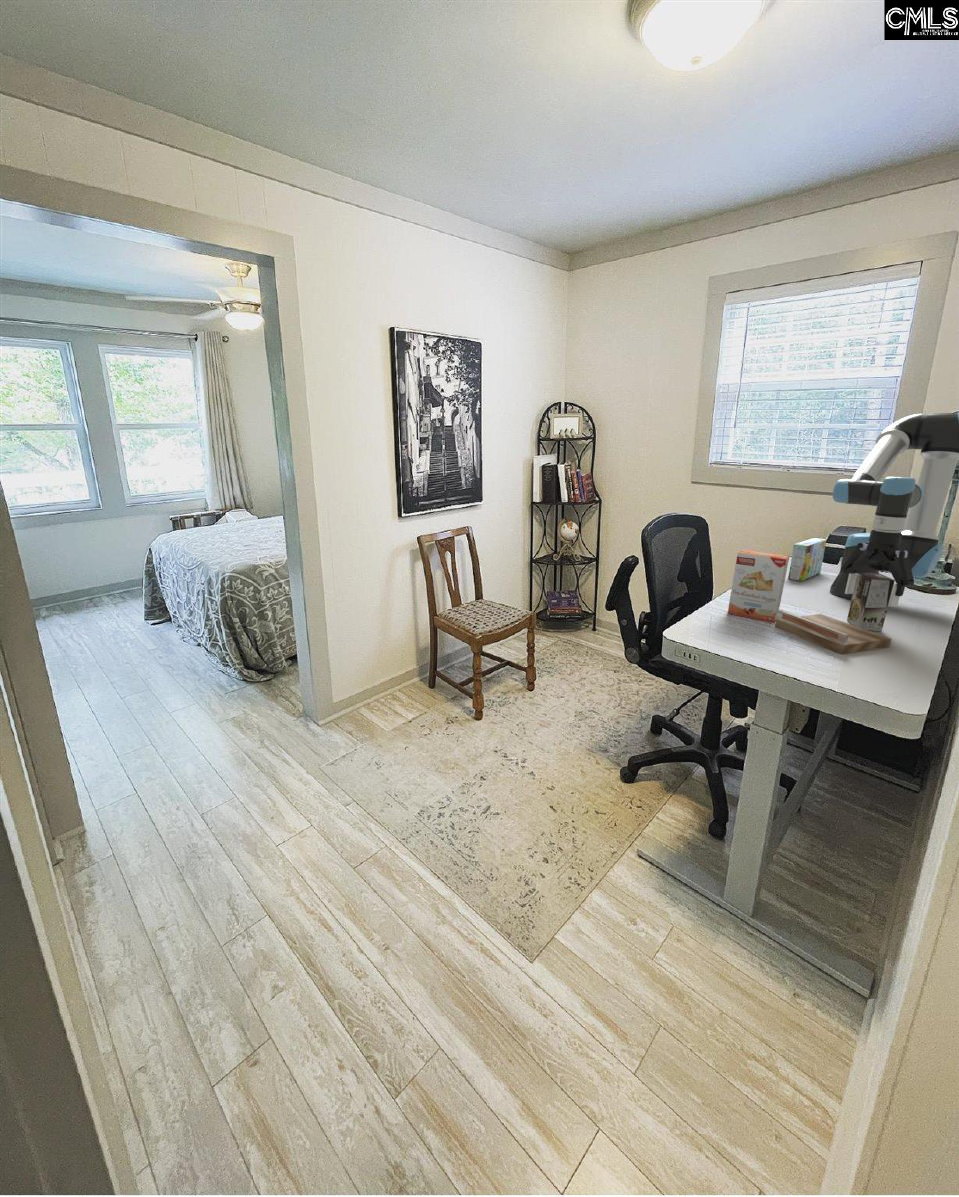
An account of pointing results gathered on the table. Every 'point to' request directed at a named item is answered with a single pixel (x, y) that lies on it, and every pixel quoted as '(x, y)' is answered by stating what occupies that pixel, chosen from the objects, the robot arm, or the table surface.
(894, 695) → the table surface
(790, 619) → the shelf board
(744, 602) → the cracker box
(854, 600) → the cookie box
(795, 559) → the snack box
